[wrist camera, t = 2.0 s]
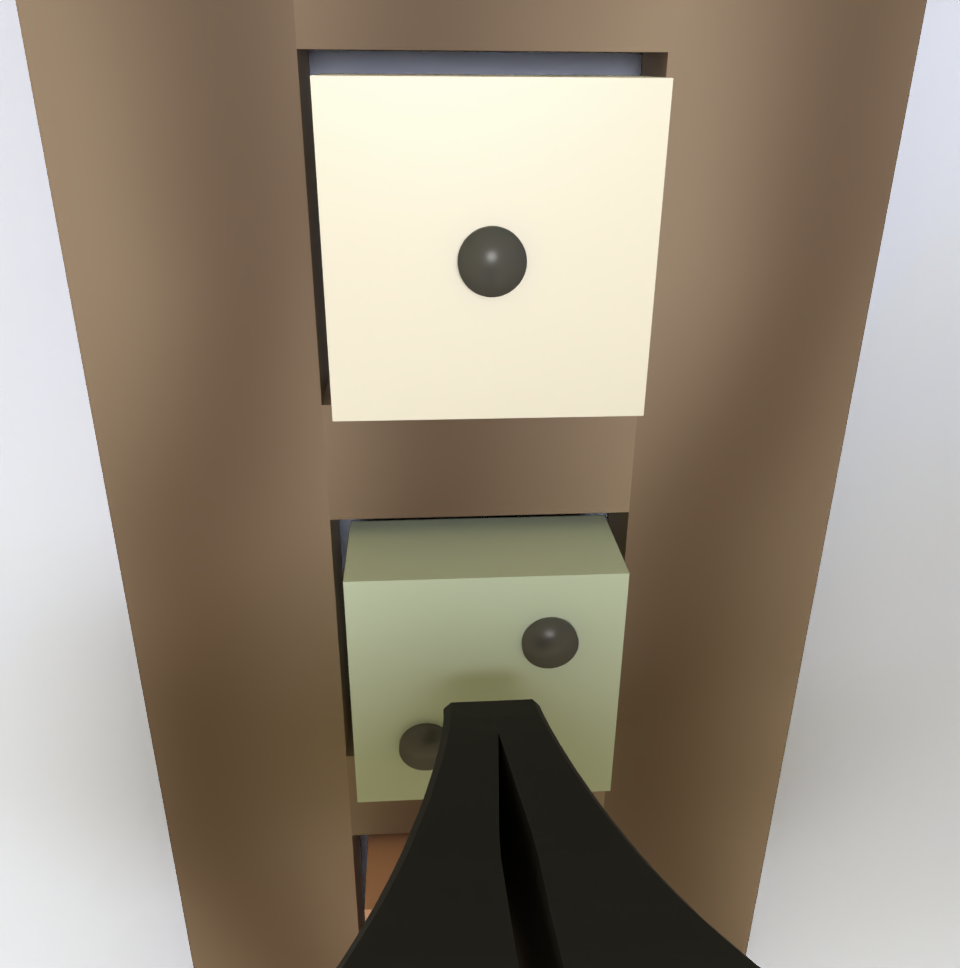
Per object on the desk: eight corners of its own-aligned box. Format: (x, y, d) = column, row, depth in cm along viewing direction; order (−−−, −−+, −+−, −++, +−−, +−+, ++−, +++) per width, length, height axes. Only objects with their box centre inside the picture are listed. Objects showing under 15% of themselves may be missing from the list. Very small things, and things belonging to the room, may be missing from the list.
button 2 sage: (604, 514, 16) (631, 577, 14) (589, 716, 18) (611, 796, 16) (350, 521, 16) (342, 586, 14) (362, 725, 17) (357, 807, 16)
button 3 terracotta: (582, 816, 19) (602, 902, 17) (571, 962, 21) (588, 1054, 19) (368, 826, 18) (364, 914, 17) (377, 973, 20) (374, 1068, 18)
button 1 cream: (636, 76, 13) (675, 78, 11) (614, 372, 15) (645, 418, 13) (323, 73, 13) (309, 75, 11) (342, 376, 14) (331, 424, 13)
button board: (899, -140, 13) (958, -164, 12) (708, 993, 23) (727, 1051, 22) (28, -161, 12) (-20, -189, 11) (227, 1023, 22) (215, 1085, 21)
